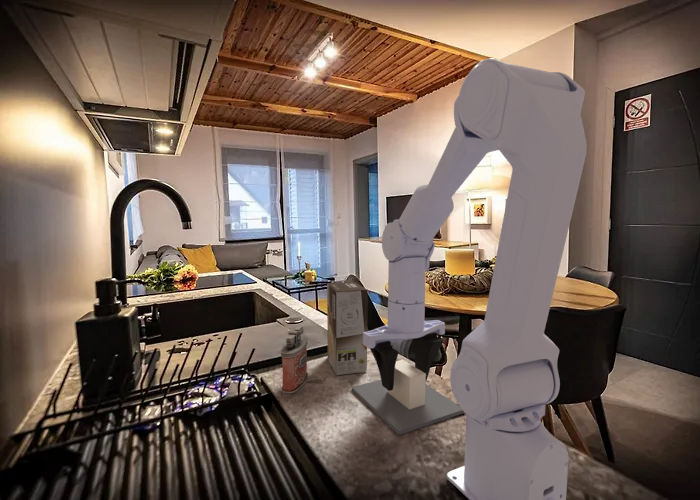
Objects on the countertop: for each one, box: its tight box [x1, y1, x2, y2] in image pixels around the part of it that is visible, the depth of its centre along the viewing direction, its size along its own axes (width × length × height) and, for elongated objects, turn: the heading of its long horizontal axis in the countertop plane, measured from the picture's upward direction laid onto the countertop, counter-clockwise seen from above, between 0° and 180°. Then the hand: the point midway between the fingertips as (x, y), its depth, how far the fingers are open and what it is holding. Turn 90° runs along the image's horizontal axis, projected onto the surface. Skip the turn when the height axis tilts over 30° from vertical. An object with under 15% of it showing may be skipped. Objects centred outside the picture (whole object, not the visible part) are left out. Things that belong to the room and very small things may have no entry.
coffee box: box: [326, 281, 369, 376], centre depth 71 cm, size 9×6×16 cm
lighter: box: [280, 325, 309, 398], centre depth 62 cm, size 8×3×10 cm, turn 168°
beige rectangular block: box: [387, 359, 427, 409], centre depth 57 cm, size 3×6×5 cm, turn 28°
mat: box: [351, 379, 465, 436], centre depth 57 cm, size 14×12×1 cm
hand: (404, 383), depth 57 cm, fingers open, 6 cm apart
